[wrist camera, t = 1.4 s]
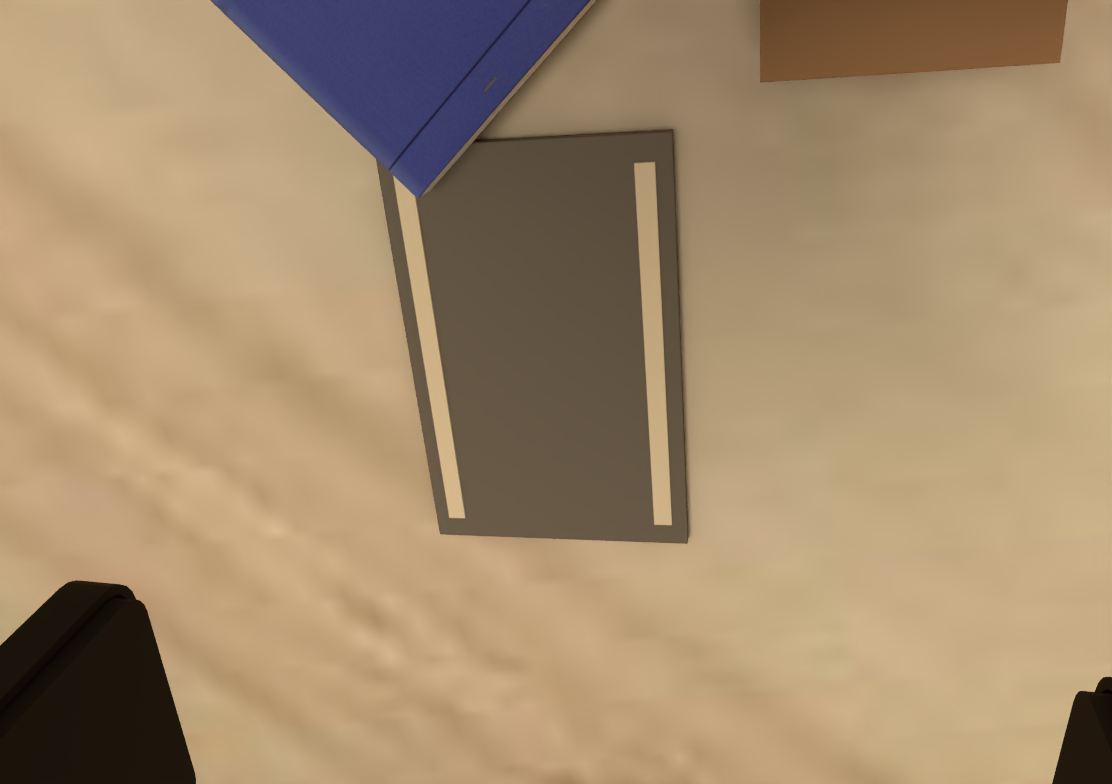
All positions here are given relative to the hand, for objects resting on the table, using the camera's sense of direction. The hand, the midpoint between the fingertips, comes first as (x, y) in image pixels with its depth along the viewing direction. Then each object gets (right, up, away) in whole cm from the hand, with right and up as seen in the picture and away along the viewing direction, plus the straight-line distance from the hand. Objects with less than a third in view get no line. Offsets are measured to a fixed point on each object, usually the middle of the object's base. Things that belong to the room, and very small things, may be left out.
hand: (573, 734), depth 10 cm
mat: (-1, +5, +22) cm, 22 cm away
